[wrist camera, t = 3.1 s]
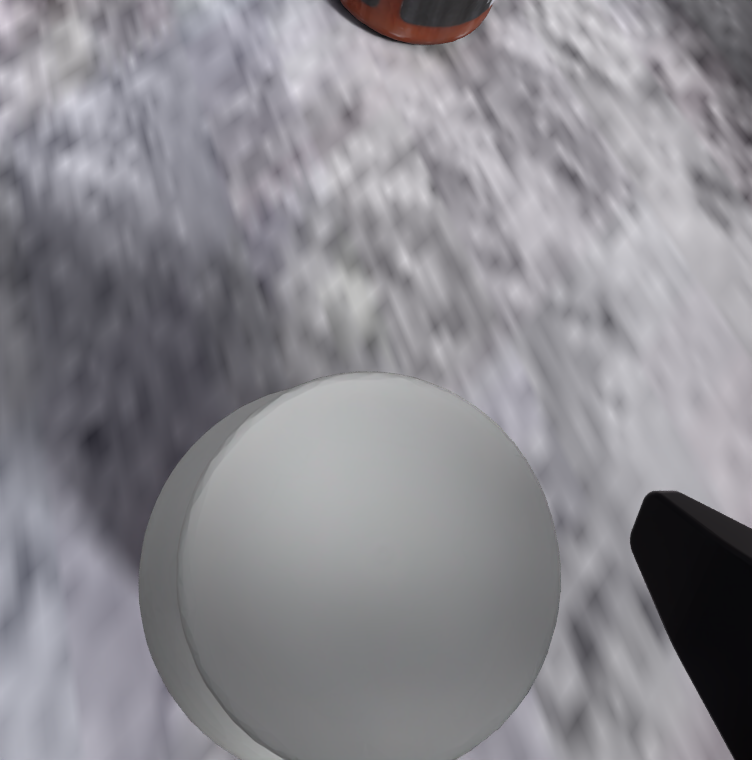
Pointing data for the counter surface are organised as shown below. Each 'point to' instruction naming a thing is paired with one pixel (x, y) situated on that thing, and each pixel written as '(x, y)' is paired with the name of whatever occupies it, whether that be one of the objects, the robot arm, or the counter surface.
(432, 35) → the supplement bottle
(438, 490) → the pill bottle
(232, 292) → the counter surface
